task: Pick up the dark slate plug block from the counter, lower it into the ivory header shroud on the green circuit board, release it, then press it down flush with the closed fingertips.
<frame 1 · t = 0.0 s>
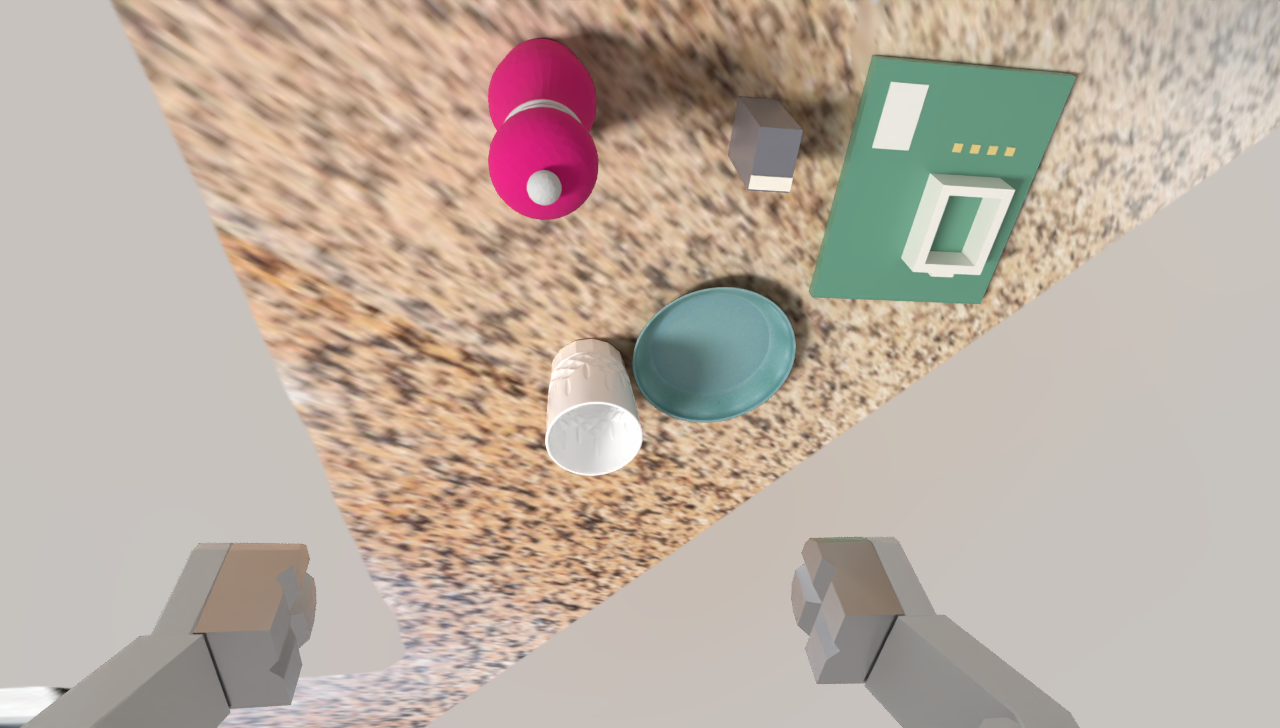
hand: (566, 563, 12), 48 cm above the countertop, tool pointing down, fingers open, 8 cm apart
board: (929, 190, 63), on the countertop
saucer: (709, 341, 70), on the countertop
plug: (752, 127, 58), on the countertop
pepper mill: (542, 83, 54), on the countertop
white cup: (587, 367, 69), on the countertop
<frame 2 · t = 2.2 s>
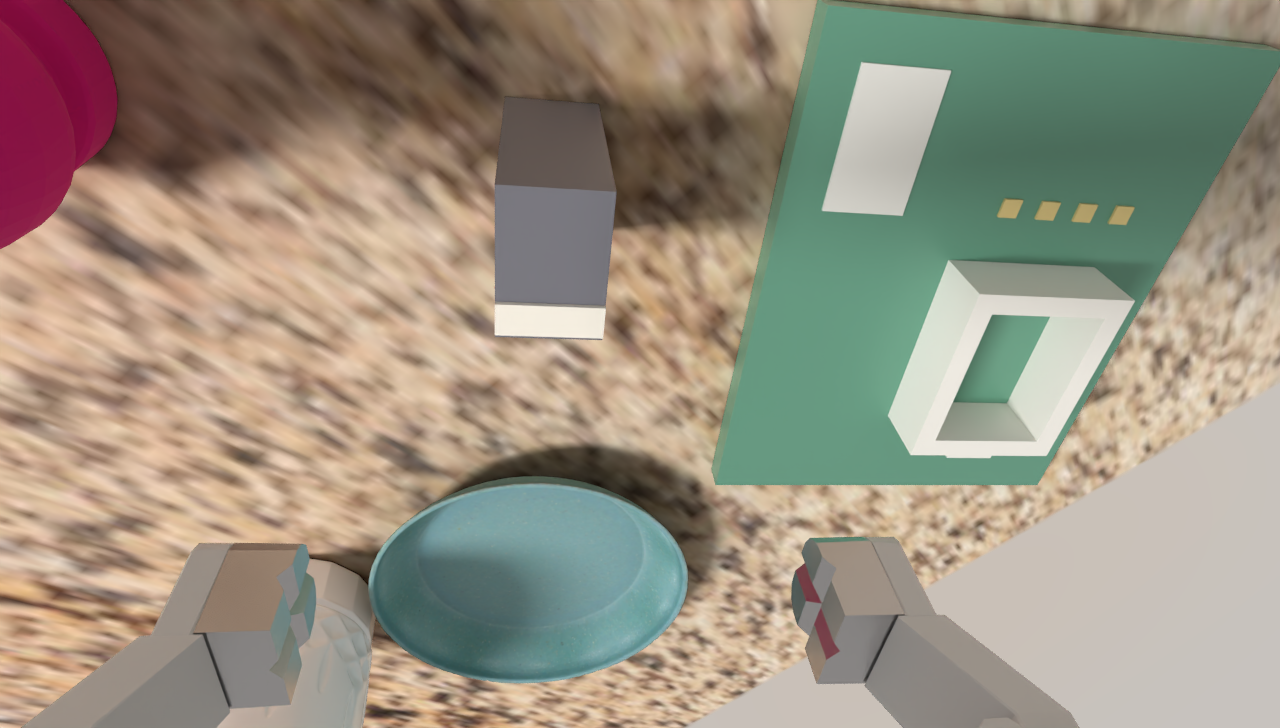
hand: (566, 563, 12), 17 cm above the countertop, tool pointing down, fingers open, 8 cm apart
board: (946, 288, 30), on the countertop
saucer: (533, 549, 38), on the countertop
plug: (549, 167, 26), on the countertop
pepper mill: (3, 64, 22), on the countertop
white cup: (307, 596, 37), on the countertop
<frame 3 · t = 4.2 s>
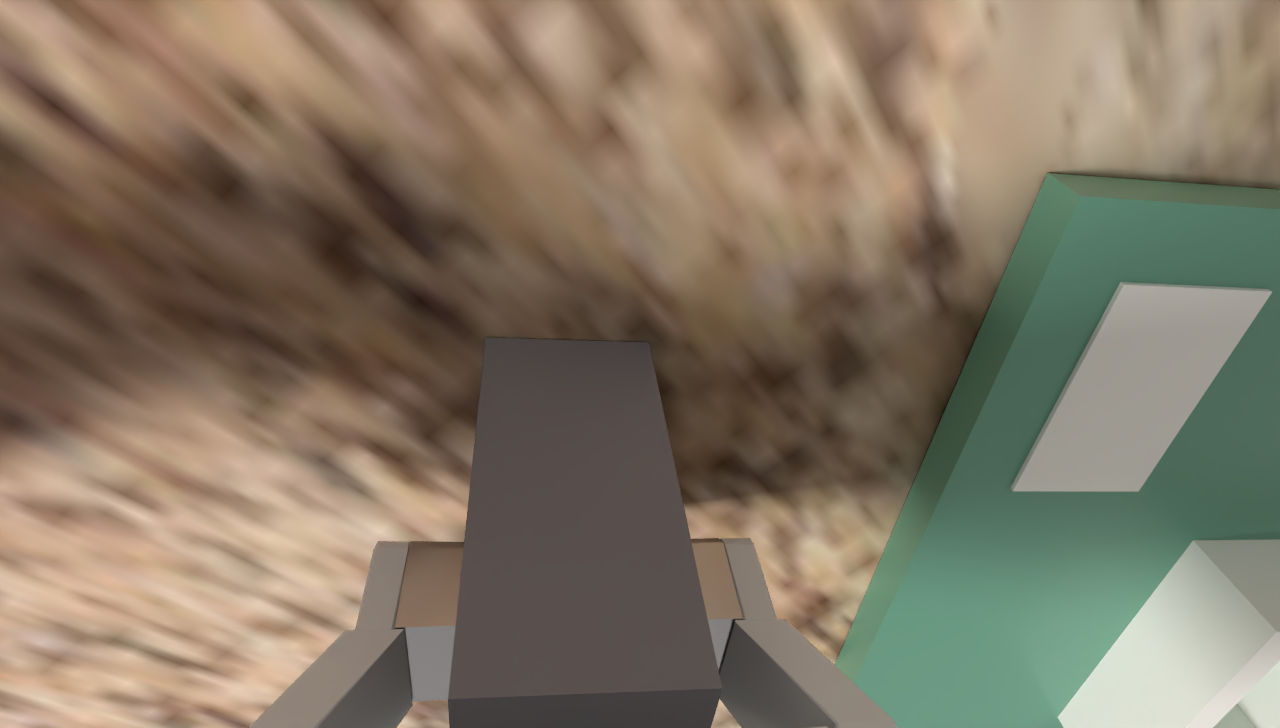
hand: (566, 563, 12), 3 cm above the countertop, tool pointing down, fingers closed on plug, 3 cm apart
board: (1165, 557, 20), on the countertop
plug: (562, 433, 15), on the countertop, touching gripper
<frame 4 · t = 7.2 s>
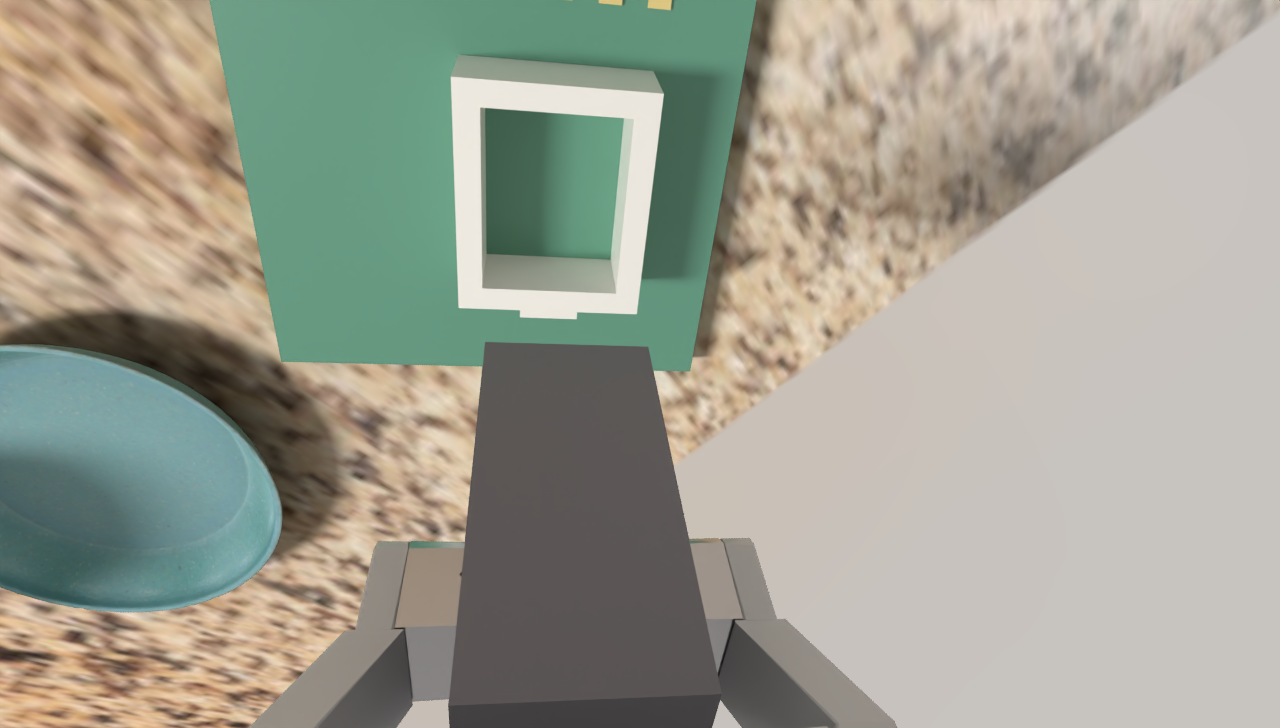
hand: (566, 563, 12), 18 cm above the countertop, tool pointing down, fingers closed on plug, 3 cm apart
board: (494, 106, 25), on the countertop
saucer: (115, 451, 32), on the countertop
plug: (561, 437, 15), point 14 cm above the countertop, touching gripper
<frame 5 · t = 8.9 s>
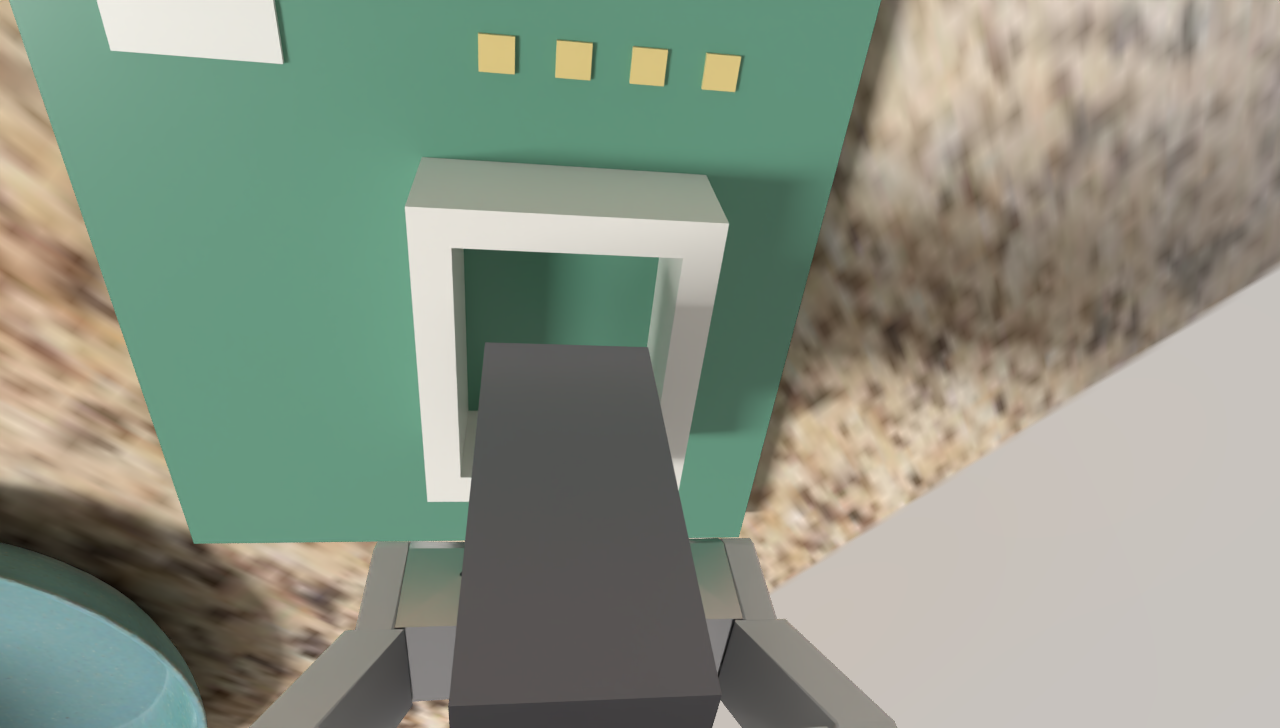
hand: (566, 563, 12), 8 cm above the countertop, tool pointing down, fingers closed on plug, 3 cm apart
board: (477, 218, 18), on the countertop
plug: (561, 437, 15), point 5 cm above the countertop, touching gripper
when the fingers open (5 cm above the countertop, at t = 10.2 s): plug stays where it is, resting on board.
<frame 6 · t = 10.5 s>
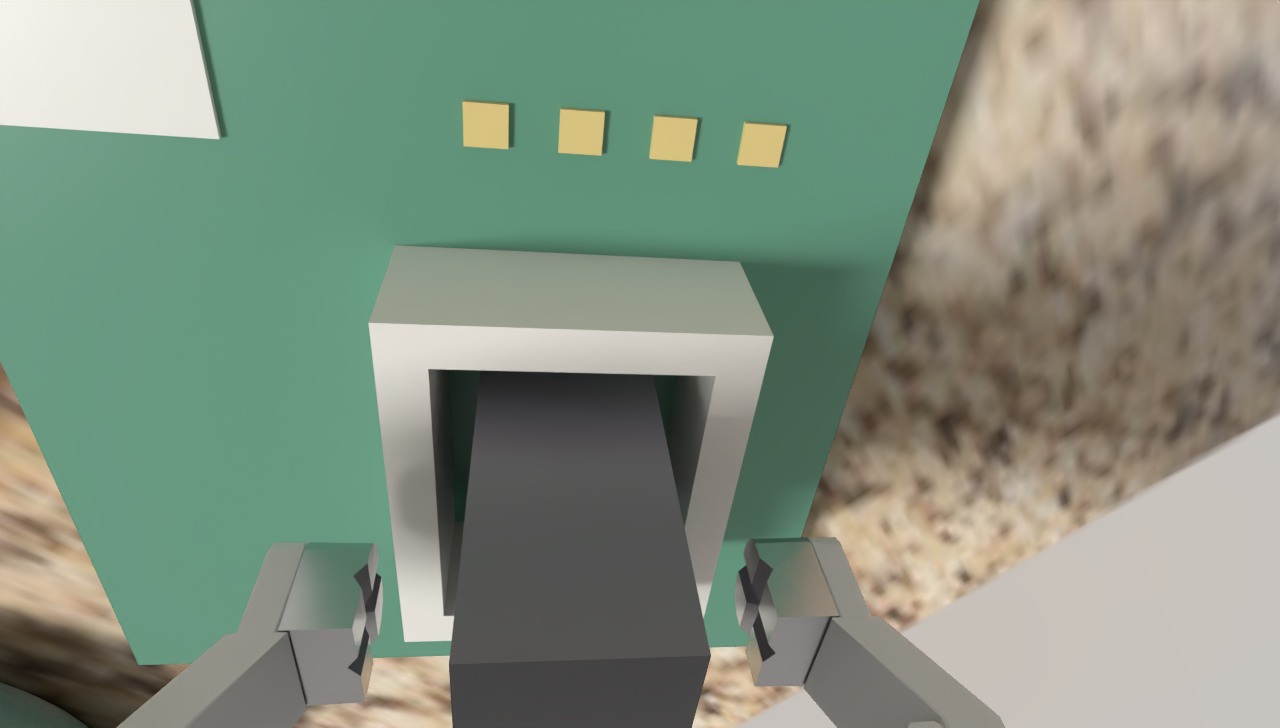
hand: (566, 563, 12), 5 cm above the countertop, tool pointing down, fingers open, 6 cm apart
board: (464, 307, 15), on the countertop
plug: (560, 421, 16), point 1 cm above the countertop, touching board
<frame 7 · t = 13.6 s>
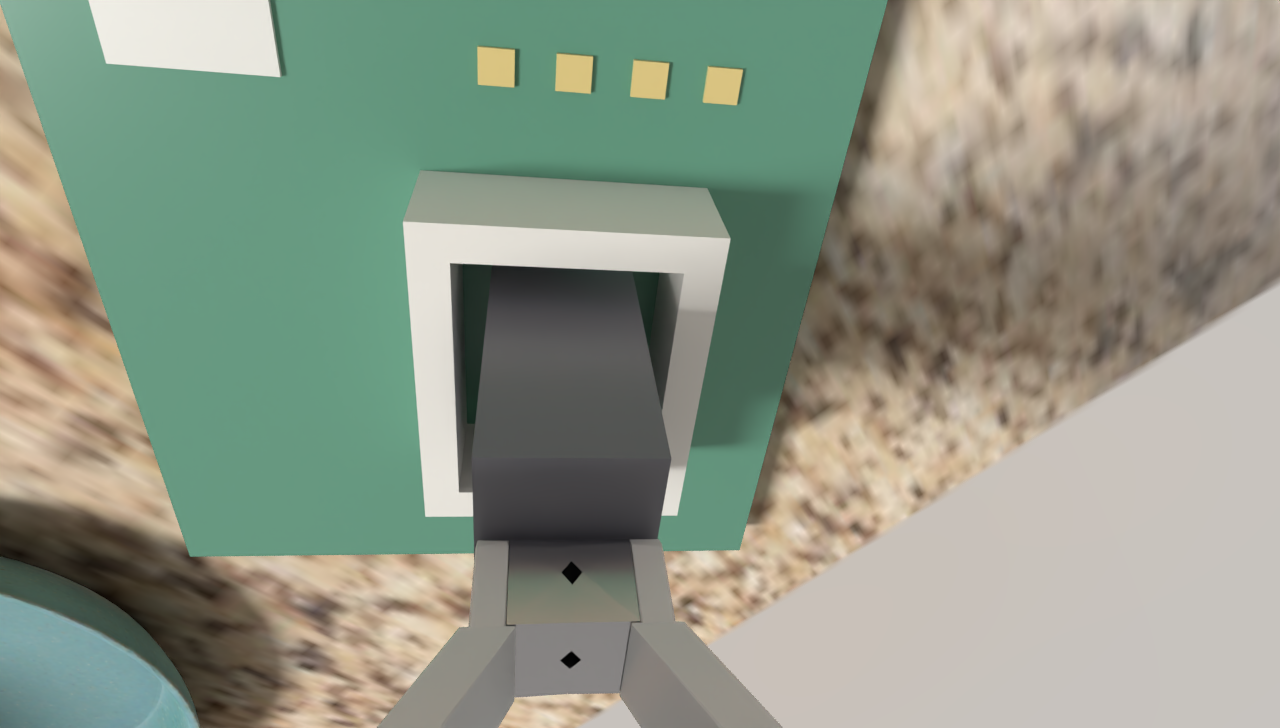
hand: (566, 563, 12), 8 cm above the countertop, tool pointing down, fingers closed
board: (476, 231, 18), on the countertop
plug: (557, 331, 18), point 1 cm above the countertop, touching board
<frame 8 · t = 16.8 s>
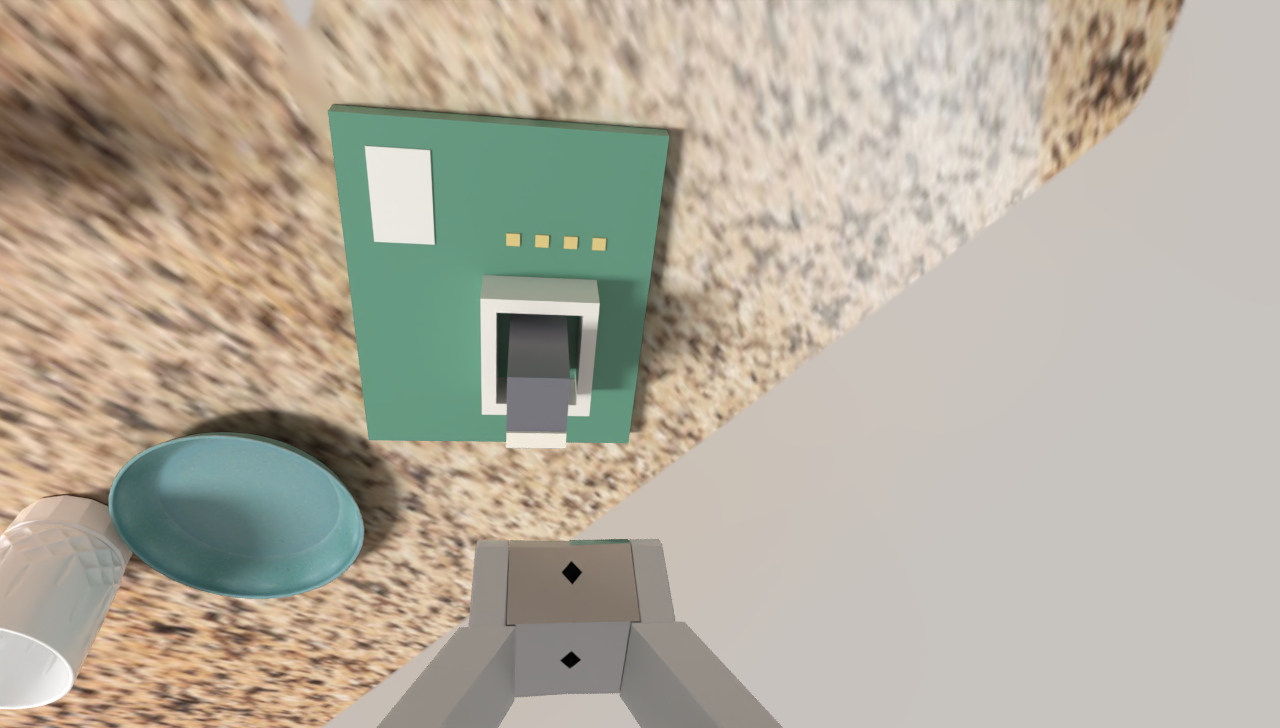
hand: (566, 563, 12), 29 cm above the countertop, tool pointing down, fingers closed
board: (503, 295, 43), on the countertop
saucer: (254, 492, 50), on the countertop
plug: (537, 336, 43), point 1 cm above the countertop, touching board
white cup: (82, 528, 49), on the countertop
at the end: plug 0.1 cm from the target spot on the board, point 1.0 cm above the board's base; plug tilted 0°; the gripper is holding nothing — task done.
